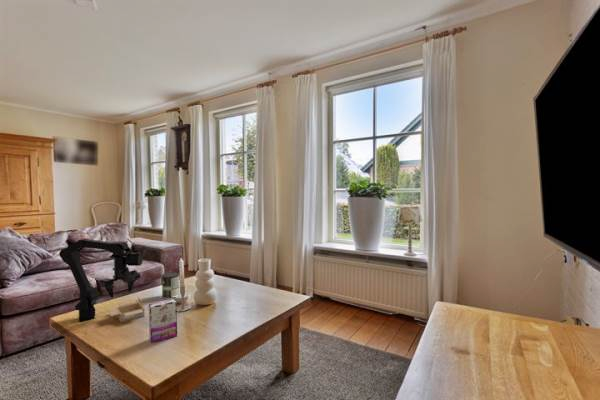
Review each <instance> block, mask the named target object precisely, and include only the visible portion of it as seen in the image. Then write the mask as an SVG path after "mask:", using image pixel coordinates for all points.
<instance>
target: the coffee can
mask: <svg viewBox="0 0 600 400" xmlns="http://www.w3.org/2000/svg"><path fill="white" fill-rule="evenodd" d="M176 295H179V296H180V273H179V272H173V271H172V272H166V273H164V274H162V275H161V298H162V299H163V300H170V299H173V296H176Z"/></svg>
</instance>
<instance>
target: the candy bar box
mask: <svg viewBox="0 0 600 400" xmlns="http://www.w3.org/2000/svg"><path fill="white" fill-rule="evenodd" d="M177 304H178V303H177V301H176V299H175V298H174V299H164V300H161V301H157V302H153V303H152V302H151V303H148V322H149V323H148V326H149V328H148V330H149V333H148V334H149V341H150V343H151V344H155V343H158V342H161V341H165V340H168V339H169V340H170V339H171V338H175V337H178V311H177Z"/></svg>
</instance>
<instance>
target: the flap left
mask: <svg viewBox="0 0 600 400" xmlns="http://www.w3.org/2000/svg"><path fill="white" fill-rule="evenodd" d="M117 303H118V306H119V307H121V306H126V305H130V304H135V303H137V301H136V299H135V298H133V299H132V298H131V299H127V300H124V301H119V302H117Z"/></svg>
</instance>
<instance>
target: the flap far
mask: <svg viewBox="0 0 600 400" xmlns="http://www.w3.org/2000/svg"><path fill="white" fill-rule="evenodd" d="M137 299H138V303H140V304H141V305H142V306H143V307H144V306H145V305H144V303H143V300H142V299H141V298H140V297H139V296H137ZM144 308H145V307H144Z"/></svg>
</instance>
